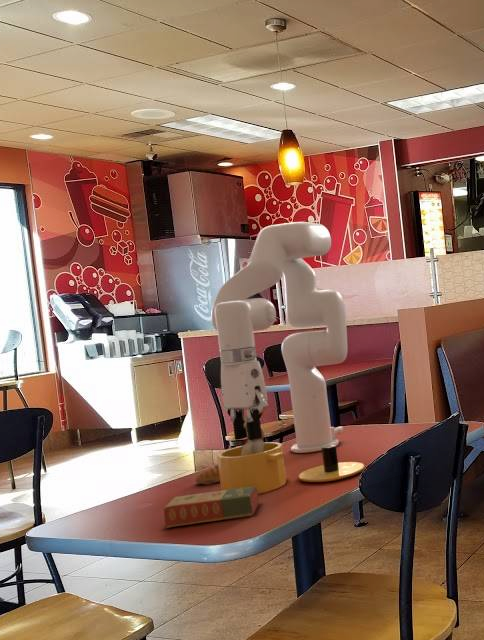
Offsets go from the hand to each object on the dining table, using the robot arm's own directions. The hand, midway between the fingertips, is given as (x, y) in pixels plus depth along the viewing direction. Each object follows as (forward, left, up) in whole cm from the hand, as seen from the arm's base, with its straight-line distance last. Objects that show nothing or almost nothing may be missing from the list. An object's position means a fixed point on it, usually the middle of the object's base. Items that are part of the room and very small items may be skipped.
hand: (248, 437), depth 165 cm
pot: (0, 0, -11) cm, 11 cm away
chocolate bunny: (0, +1, -5) cm, 5 cm away
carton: (+18, +10, -11) cm, 23 cm away
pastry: (-3, -16, -11) cm, 20 cm away
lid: (-12, +12, -11) cm, 20 cm away
